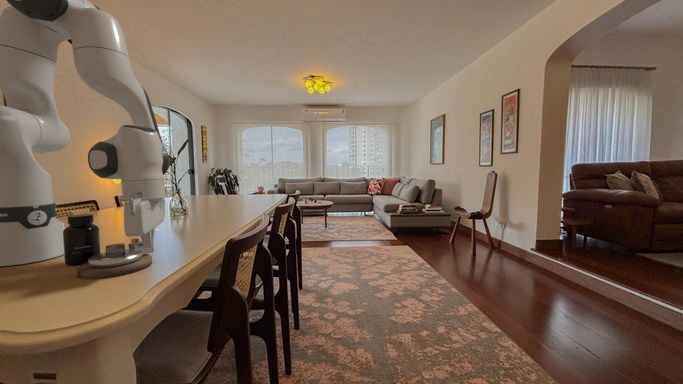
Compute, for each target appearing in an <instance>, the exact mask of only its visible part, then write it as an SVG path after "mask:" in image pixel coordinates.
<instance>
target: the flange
mask: <svg viewBox="0 0 683 384" xmlns="http://www.w3.org/2000/svg"><path fill="white" fill-rule="evenodd" d="M154 252H155V251H154V245H153V246H152V247H151V248H144V247H143V241H142V240H139V242H134V243H131V242H130V243H128V249H126V244H125V243H121V242H120V243H112V244H108V245H106V246H105V252H104V253H100V254H98V255H95V256H92V257H90V258H89V259H88V265H89V266H90V267H111V266H118V265H123V264H127V263H131V262H134V261H137V260H139V259H141V258H142V255H144V254H151V253H154Z"/></svg>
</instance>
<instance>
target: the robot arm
mask: <svg viewBox="0 0 683 384" xmlns="http://www.w3.org/2000/svg"><path fill="white" fill-rule="evenodd" d="M6 2H7V3H8V4H10V6H6V7H5V8H4V9H2V12H1V14H0V91H1V92H2V94H3V96H4V99H5V102H6V103H5V104H6V105H2V104H1V105H0V267H7V266H9V267H10V266H16V265H25V264H31V263H36V262H40V261H45V260H46V261H47V260H49V259H53V258H57V257H60V256H62V255H63V256H64V242H63V231H64V229H65V228H66V227H65V224H64V222H63V221H61V220H59V219H58V218H57V216H58V208H57V205H56V203H55V202H54V191H53V180H52V175H51V174H50V173H49V172H48V171H47V170H45V169H44V168H43V167H41V166H40V164H39V163H38V161H37V160H36V158H35V156H34V154H35V153H36V154H45V153H52V152H53V153H54V152H58V151H61V150H63V149H64V148H66V147H67V146H68V144H69V143H70V140H71V133H70V130H69V128H68V126H67V125H66V124H65V123H64V122H63V120H62V118H61V116H60V113H59V111H58V108H57V104H56V99H55V80H56V69H57V61H58V50H59V46H60V45H61V44H62V43H63V42H65V41H67V43H69V44H70V45H71V49H72V55H73V61H74V66H75V67H74V68H75V70H76V73H77V75H78V77H79V78H80V80H81V81H83V83H84V84H85V85H87V86H88V87H89V88H90V89H92V90H93V91H95V92H96V93H98V94H100V95H102V96H104V97H106V98H107V99H110V100H111V101H113V102H114V103H116V104H118V105H119V106H121V107H122V108H123V109H124V110H125V111H126V112H127V113H128V114H129V117H130V118H131V122H132V125H131V124H124V125H121V126H119V128H118V131H117V133H115V134H114V135H113V136H111V137H109V138H108V139H105V140H103V141H98V142H96V143H95V144H93V145H92V146H91V148H90V149H89V150H88V152H87V153H88V154H87V162H88V166H89V169H90V170H91V172H92V173H93V174H94V175H96V176H97V177H98V178H101V179H106V180H121V181H120V183H121V192H122V200H123V201H126V202H125V205H124V209H123V225H124V226H123V227H124V233H125V236H126V237H127V238H128V237H130V238H131V237H140V239H141V241H143V247H144V248H151V247H152V246H153V247H154V245H155V240H154V239H155V231H156V229H155V228H157V227H158V226H159V225H161V224H162V223H164V221H165V215H166V199H165V198H166V197H167V195H168V193H167V191H168V190H167V188H166V183H165V175H166V174H167V172H168V170H169V168H170V166H171V159H170V155H169V153H168V151H167V149H166V147H165V145H164V143H163V140H162V136H161V133H160V129H159V126H158V123H157V120H156V116H155V113H154V109H153V107H152V103H151V100H150V98H149V95H148V93H147V91H146V90H145V89H144V87H143V86H142V85H141V84H140V82H139V81H138V79H137V78H136V76H135V74H134V71H133V69H132V65H131V60H130V56H129V50H128V45H127V43H126V38H125V35H124V31H123V29H122V27H121V24H120V23H119V21H118V20H117V19H116V18H115V17H114V16H113V15H112V14H110V13H109V12H107V11H104V10H101V9H100V8H99V7H98V6H96V5H94V4H93V3H92V2H90V1H89V0H6Z"/></svg>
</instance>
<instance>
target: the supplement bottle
mask: <svg viewBox="0 0 683 384" xmlns="http://www.w3.org/2000/svg"><path fill="white" fill-rule="evenodd" d="M94 222H95V220H94V214H92V213H85V214H84V213H83V214H82V213H80V214H72V215H68V216H67V224H68V226H67V227H64V228H65V229H64V231H63V242H64V254H63V256H64V264H65V266H68V267H76V266H77V267H78V266H80V265H82V264H84V263H86V262H88V259H89V258H90V257H92V256H95V255H98V254H101V241H100V227H99V226H98V225H96V224H95V223H94Z"/></svg>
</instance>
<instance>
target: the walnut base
mask: <svg viewBox="0 0 683 384" xmlns="http://www.w3.org/2000/svg"><path fill="white" fill-rule="evenodd" d="M130 241H131V242H130V243H134V242H139V241H140V238H139V237H136V238H131V239H130ZM152 264H153V256H152V254H150V253H148V254H144V255H142V258H141V259H139V260H137V261H134V262H131V263H127V264H123V265H118V266H111V267H90V266H89V265H88V262H86V263H84V264H82V265H80V266H77V268H76V277H78V278H79V279H83V280H102V279H111V278H116V277H122V276H126V275H129V274H133V273H137V272H140V271H143V270H144V269H147V268H149V267H151V265H152Z"/></svg>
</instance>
